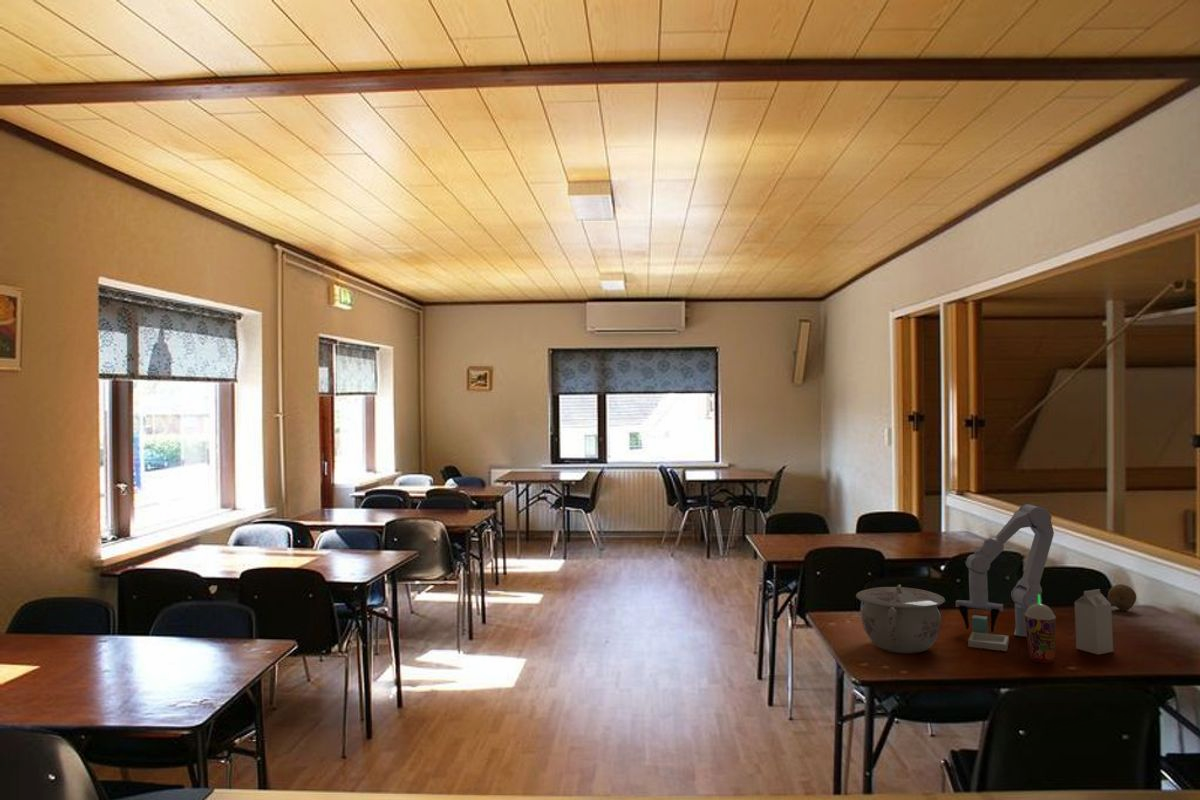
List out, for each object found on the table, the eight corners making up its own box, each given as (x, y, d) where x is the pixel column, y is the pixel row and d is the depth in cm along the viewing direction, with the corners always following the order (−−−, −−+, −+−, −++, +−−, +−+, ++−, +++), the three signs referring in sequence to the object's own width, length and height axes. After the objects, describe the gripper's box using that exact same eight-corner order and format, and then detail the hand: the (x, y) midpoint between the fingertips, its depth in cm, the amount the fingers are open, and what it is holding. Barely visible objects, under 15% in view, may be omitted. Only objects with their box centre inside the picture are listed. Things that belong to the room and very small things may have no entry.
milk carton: (1076, 649, 246) (1073, 589, 246) (1092, 646, 248) (1089, 587, 249) (1097, 655, 239) (1094, 593, 240) (1113, 652, 242) (1110, 591, 242)
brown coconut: (1123, 615, 284) (1122, 587, 285) (1102, 609, 293) (1100, 583, 293) (1142, 612, 287) (1141, 585, 287) (1121, 607, 295) (1120, 581, 296)
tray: (1008, 642, 255) (1008, 635, 255) (1006, 651, 246) (1006, 644, 246) (972, 638, 261) (971, 631, 261) (968, 646, 251) (968, 640, 252)
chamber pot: (904, 632, 270) (901, 573, 271) (967, 653, 245) (964, 588, 245) (838, 642, 260) (836, 581, 261) (897, 666, 235) (894, 597, 235)
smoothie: (1042, 666, 231) (1039, 598, 231) (1020, 658, 239) (1017, 593, 239) (1064, 662, 233) (1061, 596, 234) (1041, 655, 241) (1038, 590, 242)
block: (988, 634, 265) (987, 616, 265) (987, 637, 261) (986, 619, 262) (973, 632, 268) (973, 615, 268) (972, 635, 264) (971, 618, 264)
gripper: (1003, 589, 265) (1004, 629, 264) (956, 585, 272) (958, 624, 272) (1001, 593, 259) (1003, 634, 258) (954, 589, 266) (955, 629, 266)
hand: (980, 629), depth 265 cm, fingers open, 7 cm apart
